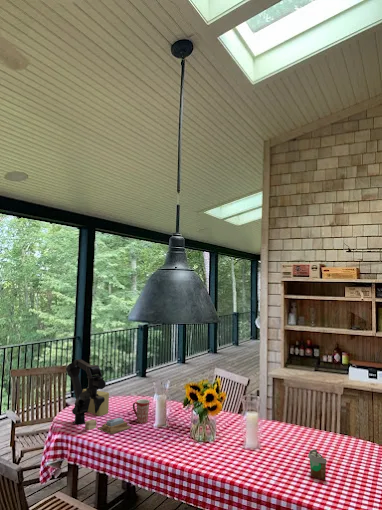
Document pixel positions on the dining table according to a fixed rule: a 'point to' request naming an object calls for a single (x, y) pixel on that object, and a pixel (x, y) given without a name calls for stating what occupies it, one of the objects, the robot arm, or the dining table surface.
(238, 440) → the dining table surface
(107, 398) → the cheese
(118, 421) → the grey block
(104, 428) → the tray
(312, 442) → the dining table surface
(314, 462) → the food container
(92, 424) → the tan rectangular block
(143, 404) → the mug
